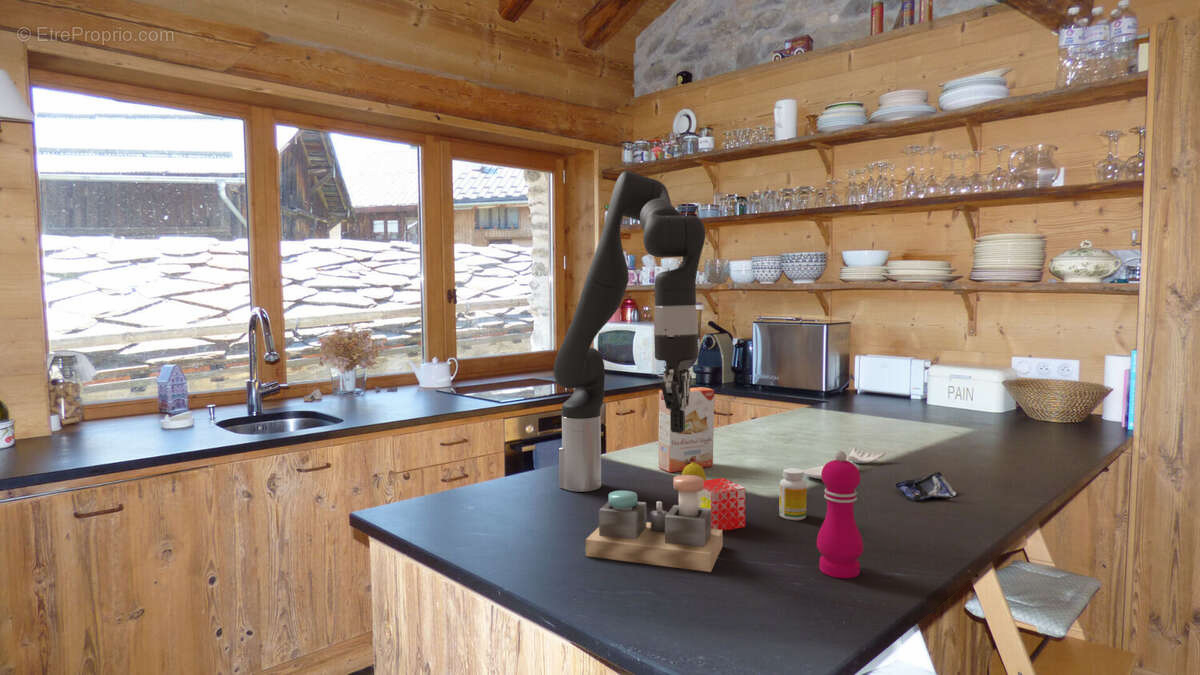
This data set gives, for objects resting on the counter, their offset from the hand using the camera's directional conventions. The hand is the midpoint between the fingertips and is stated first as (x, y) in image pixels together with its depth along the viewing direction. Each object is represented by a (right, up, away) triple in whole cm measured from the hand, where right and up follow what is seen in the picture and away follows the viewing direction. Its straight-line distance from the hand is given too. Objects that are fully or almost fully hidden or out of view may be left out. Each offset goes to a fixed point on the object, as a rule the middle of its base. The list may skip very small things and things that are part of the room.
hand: (678, 431), depth 118 cm
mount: (-4, -22, +3) cm, 22 cm away
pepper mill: (+26, -22, -6) cm, 35 cm away
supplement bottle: (+26, -21, +21) cm, 39 cm away
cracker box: (+9, -18, +61) cm, 64 cm away
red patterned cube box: (+10, -21, +18) cm, 29 cm away
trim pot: (-3, -19, +6) cm, 20 cm away
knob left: (-9, -19, +5) cm, 21 cm away
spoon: (+49, -18, +57) cm, 78 cm away
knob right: (+2, -15, +1) cm, 15 cm away
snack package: (+60, -20, +35) cm, 72 cm away
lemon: (+8, -20, +35) cm, 41 cm away
